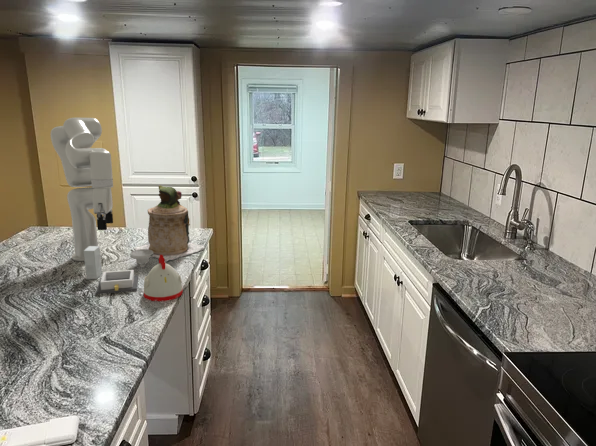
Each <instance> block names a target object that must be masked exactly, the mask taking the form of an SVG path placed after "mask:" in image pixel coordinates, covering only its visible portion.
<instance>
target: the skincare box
mask: <svg viewBox="0 0 596 446" xmlns="http://www.w3.org/2000/svg"><path fill="white" fill-rule="evenodd" d="M100 248H101V247H100V245H98V246H89V247H88V248H86V249H85V250H84V260H85V261H84V269H85V275H86V280H97V279H98V278H99V277H100V276H102V275H103V270H102V260H101V258H102V257H100V251H101V249H100Z"/></svg>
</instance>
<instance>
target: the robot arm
mask: <svg viewBox="0 0 596 446" xmlns="http://www.w3.org/2000/svg"><path fill="white" fill-rule="evenodd" d="M102 132H103V128H102V125H101V123H100V121H99V120H98V119H97V118H95V117H69V118H67V119H65V121H63V125H59V126H55V127H53V128H52V129H51V130H50V141H51V144H52V146H53V149H54V151H55V152H56V154H57V155H58V157H59V159H60V161H61V166H62V169H63V173H64V177H65V181H66V183H67V185H68V186H69V187H72V188H74V189H70V190H69V191H68V193H67V195H66V196H67V197H66V199H67V202H68V203H67V204H68V207H69V210H70V217H71V225H72V234H73V243H74V253H73V254H71V259H72V260H73V261H77V262H85V260H84V250H85V249H86V248H88V247H89V246H99V241H98V232H97V230H98V231H106V230H108V226H107V224H113V223H114V216H113V214H114V213H113V207H114V206H113V194H112V193H113V192H112V188H114V179H113V177H114V176H113V166H112V164H113V163H112V154H111V152H110V151H108V150H107V149H106V148H103V147H92V146H94V144H95V143H96V142H97V141H98V140H99V139H100V138H101V135H102ZM92 209H93V214H92V213H91V211H89V210H92ZM94 215H96V217H95V216H94ZM102 257H103V252H102V251H101V250H100V258H102Z"/></svg>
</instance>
